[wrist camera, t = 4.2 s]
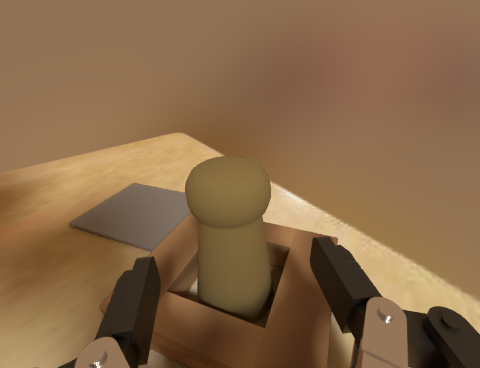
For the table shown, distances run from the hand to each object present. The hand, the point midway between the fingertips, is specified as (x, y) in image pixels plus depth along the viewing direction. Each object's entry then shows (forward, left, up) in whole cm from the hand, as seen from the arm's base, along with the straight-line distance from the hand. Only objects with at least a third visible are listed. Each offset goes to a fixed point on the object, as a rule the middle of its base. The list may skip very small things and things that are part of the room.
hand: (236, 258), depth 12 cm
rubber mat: (-17, +9, -7) cm, 21 cm away
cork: (-2, +3, -8) cm, 9 cm away
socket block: (-2, +3, -7) cm, 8 cm away
